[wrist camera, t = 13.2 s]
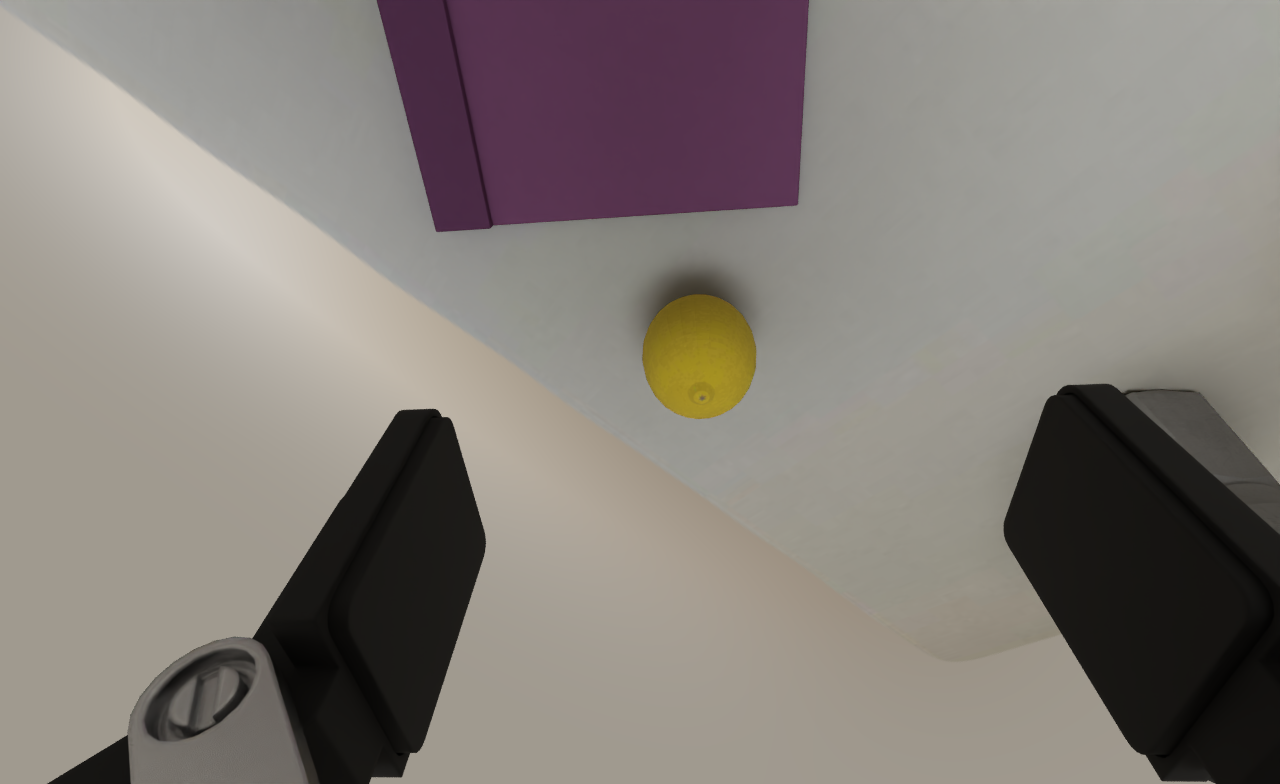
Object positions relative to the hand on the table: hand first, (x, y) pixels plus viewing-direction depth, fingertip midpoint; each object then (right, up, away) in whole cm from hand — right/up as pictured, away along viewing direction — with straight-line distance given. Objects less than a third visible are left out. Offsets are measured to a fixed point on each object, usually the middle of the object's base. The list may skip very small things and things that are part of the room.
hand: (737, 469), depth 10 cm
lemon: (+2, +5, +24) cm, 24 cm away
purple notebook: (-3, +16, +17) cm, 24 cm away
